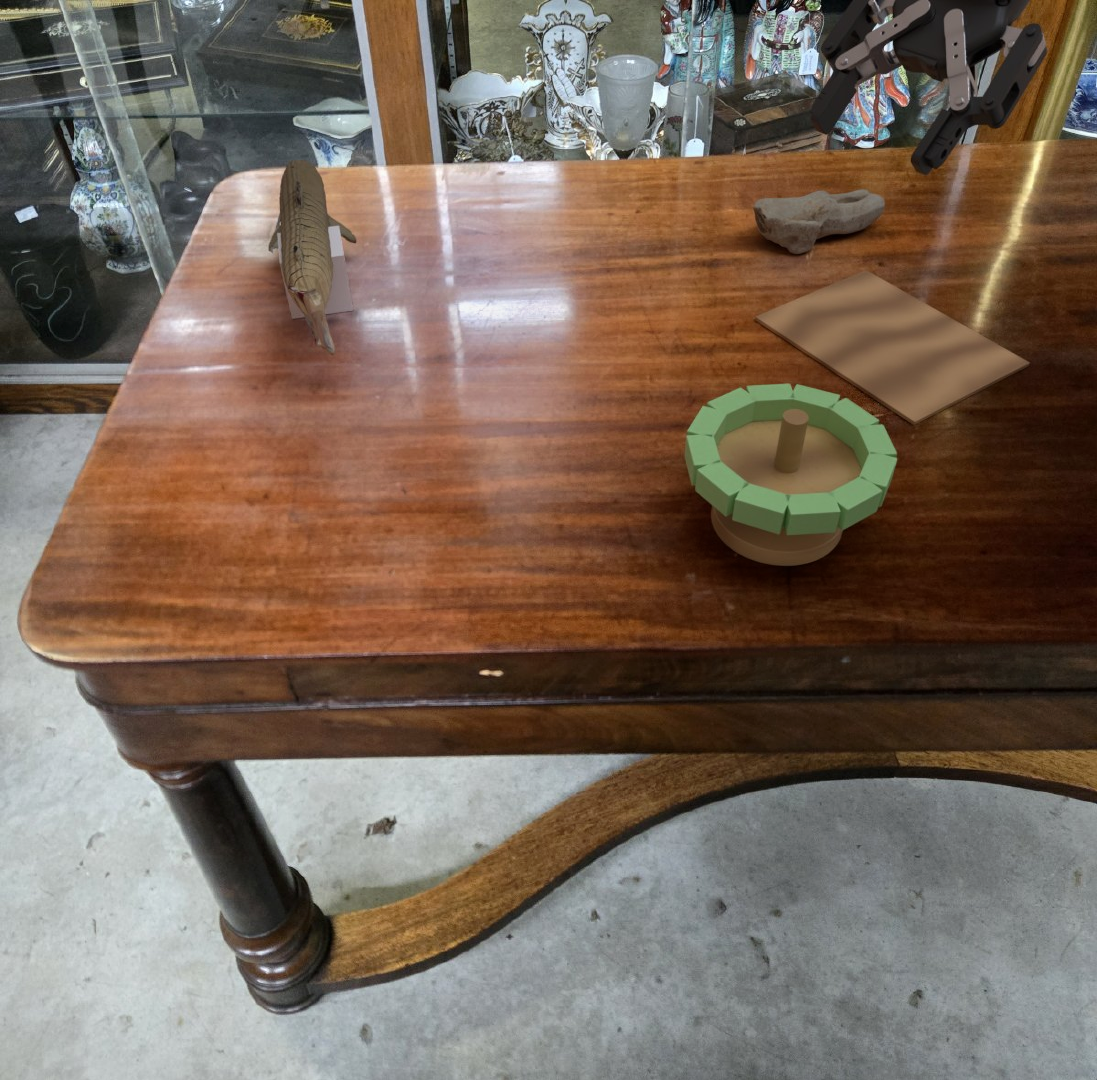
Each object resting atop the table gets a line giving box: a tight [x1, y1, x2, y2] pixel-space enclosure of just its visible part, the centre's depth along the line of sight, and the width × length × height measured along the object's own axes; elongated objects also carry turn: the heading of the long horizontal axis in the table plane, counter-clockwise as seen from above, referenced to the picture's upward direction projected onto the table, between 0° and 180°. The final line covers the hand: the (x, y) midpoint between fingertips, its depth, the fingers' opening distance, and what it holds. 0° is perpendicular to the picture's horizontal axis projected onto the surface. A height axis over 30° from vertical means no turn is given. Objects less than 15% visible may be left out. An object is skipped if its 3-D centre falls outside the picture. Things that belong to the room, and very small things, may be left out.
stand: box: [710, 409, 862, 567], centre depth 76 cm, size 12×12×10 cm
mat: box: [754, 269, 1031, 426], centre depth 97 cm, size 20×15×1 cm
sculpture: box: [752, 188, 886, 255], centre depth 110 cm, size 7×5×15 cm
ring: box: [683, 383, 898, 535], centre depth 75 cm, size 15×15×2 cm
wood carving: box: [268, 159, 357, 356], centre depth 98 cm, size 9×35×11 cm, turn 13°
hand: (866, 147), depth 72 cm, fingers open, 8 cm apart
